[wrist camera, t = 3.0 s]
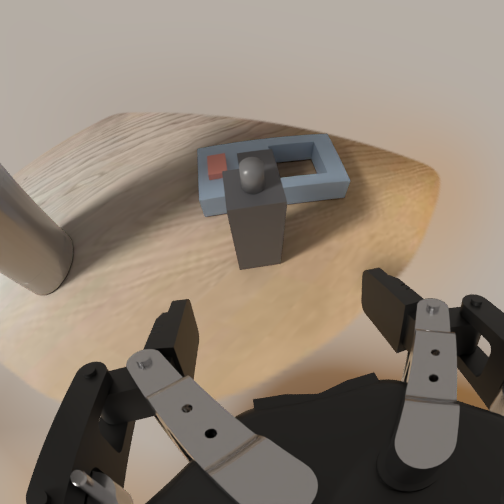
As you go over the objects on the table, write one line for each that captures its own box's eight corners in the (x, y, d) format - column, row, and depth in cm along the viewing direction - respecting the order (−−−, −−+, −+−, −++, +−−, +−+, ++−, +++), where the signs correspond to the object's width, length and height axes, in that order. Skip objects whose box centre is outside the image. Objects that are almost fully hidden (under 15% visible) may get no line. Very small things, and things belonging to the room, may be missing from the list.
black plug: (239, 269, 27) (222, 191, 16) (235, 237, 28) (218, 151, 18) (280, 263, 27) (289, 182, 16) (273, 231, 28) (276, 143, 18)
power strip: (204, 216, 30) (197, 195, 26) (201, 165, 33) (196, 143, 30) (344, 197, 30) (352, 175, 27) (323, 150, 34) (328, 128, 30)
